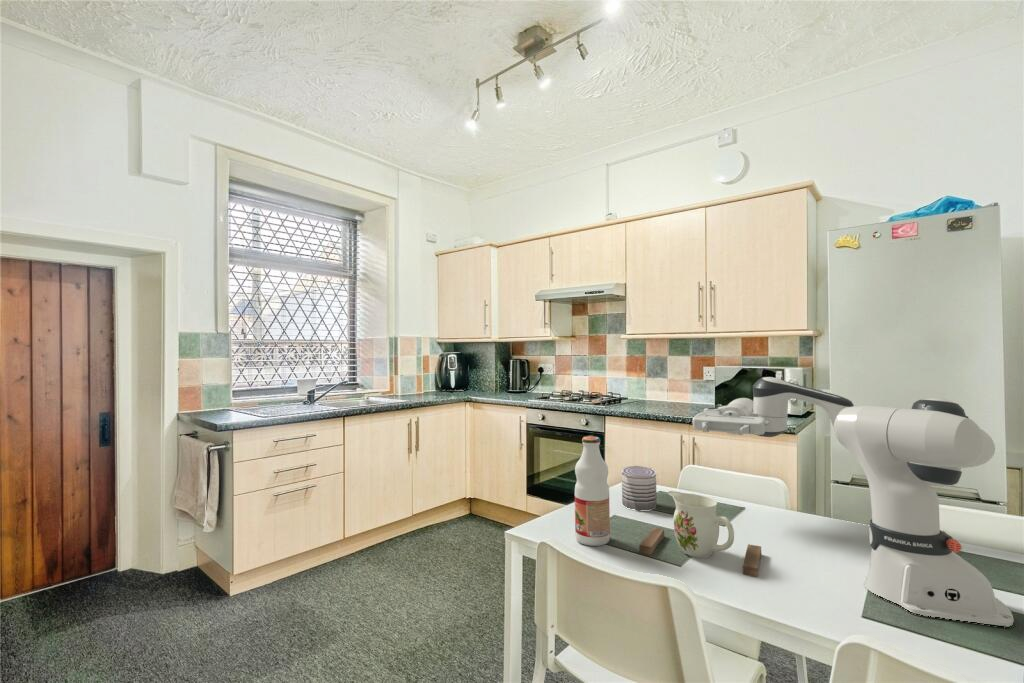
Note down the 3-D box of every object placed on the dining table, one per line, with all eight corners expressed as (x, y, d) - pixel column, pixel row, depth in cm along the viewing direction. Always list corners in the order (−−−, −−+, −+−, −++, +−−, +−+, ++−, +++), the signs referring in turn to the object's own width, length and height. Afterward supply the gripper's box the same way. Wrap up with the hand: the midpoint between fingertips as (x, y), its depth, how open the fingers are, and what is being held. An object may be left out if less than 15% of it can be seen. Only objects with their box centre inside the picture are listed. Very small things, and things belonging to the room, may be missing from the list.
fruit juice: (604, 549, 124) (602, 441, 124) (570, 543, 128) (569, 439, 129) (614, 536, 132) (612, 436, 133) (581, 531, 136) (580, 433, 137)
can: (659, 503, 161) (658, 467, 162) (654, 513, 151) (654, 475, 151) (625, 499, 166) (624, 464, 166) (618, 508, 156) (618, 472, 156)
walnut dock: (761, 554, 120) (761, 546, 120) (757, 577, 108) (757, 568, 108) (653, 534, 133) (653, 527, 133) (639, 552, 121) (639, 544, 121)
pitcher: (721, 572, 110) (720, 513, 110) (656, 547, 124) (655, 495, 125) (745, 560, 116) (744, 503, 117) (681, 537, 131) (680, 487, 131)
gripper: (771, 431, 143) (761, 445, 132) (701, 426, 156) (687, 438, 145) (769, 411, 142) (760, 422, 132) (700, 407, 155) (686, 418, 144)
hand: (721, 430), depth 138 cm, fingers open, 8 cm apart
